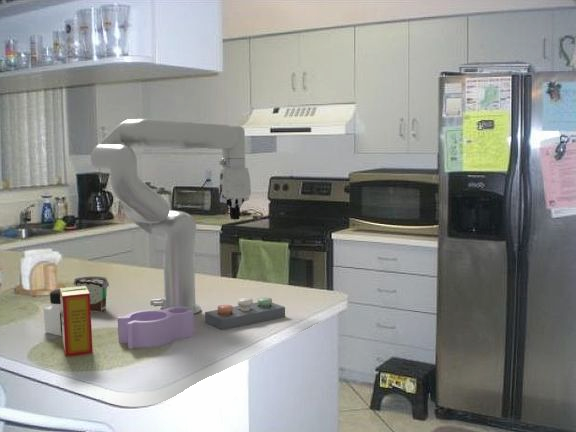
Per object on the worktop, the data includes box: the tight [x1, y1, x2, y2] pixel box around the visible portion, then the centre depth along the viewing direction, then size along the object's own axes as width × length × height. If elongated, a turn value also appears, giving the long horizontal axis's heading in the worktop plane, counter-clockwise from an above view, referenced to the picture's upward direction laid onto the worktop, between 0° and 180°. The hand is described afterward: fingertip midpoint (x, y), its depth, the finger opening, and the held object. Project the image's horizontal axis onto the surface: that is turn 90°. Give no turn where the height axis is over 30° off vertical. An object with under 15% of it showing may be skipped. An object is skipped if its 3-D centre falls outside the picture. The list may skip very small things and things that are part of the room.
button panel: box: [204, 301, 286, 331], centre depth 198 cm, size 22×10×3 cm, turn 126°
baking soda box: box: [59, 286, 94, 358], centre depth 171 cm, size 10×6×16 cm
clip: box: [117, 307, 195, 350], centre depth 180 cm, size 20×12×7 cm, turn 127°
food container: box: [73, 275, 110, 314], centre depth 211 cm, size 12×6×10 cm, turn 65°
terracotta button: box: [217, 304, 234, 316], centre depth 194 cm, size 4×4×4 cm
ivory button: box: [237, 297, 254, 312], centre depth 198 cm, size 4×4×4 cm
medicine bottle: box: [43, 288, 62, 337], centre depth 187 cm, size 7×7×12 cm
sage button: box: [257, 297, 273, 308], centre depth 202 cm, size 4×4×4 cm
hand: (234, 218), depth 220 cm, fingers closed
